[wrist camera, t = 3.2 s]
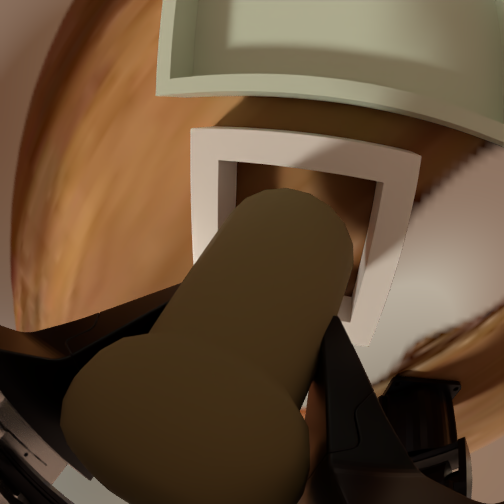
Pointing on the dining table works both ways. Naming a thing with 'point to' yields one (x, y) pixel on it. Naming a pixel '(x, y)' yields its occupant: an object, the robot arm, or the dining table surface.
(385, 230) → the socket block
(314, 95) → the parts tray
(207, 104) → the dining table surface
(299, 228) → the cork
